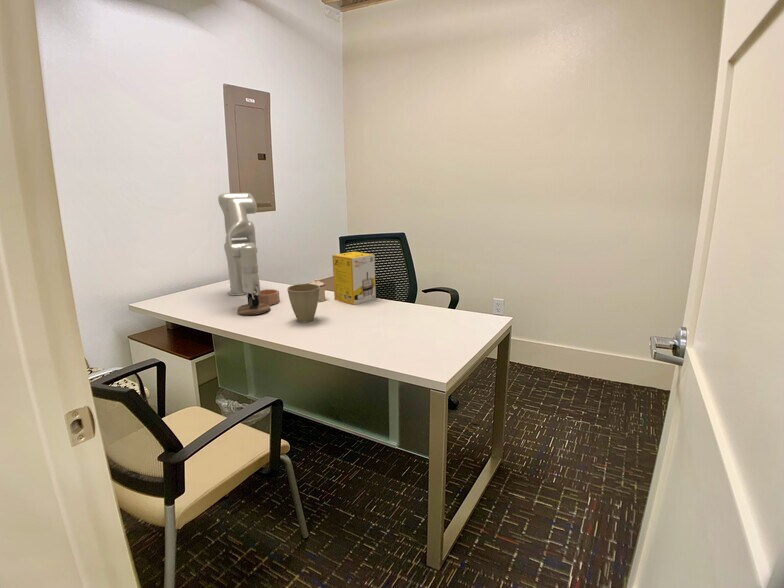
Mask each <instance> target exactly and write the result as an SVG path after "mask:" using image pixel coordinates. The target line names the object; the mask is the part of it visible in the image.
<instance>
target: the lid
mask: <svg viewBox="0 0 784 588" xmlns="http://www.w3.org/2000/svg"><path fill="white" fill-rule="evenodd" d="M252 299H253V297H251V298H249V305H248V303H246V304H243V305H240V306H238V307H237V309H236V310H237V313H238V314H239V315H246V316H247V315H249V316H250V315H259V314H264V313H266V312H267V313H268V311H270V310H271V305H269V304H265V303H259V306H256V307H253V304H252Z"/></svg>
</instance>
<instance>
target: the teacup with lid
mask: <svg viewBox="0 0 784 588" xmlns="http://www.w3.org/2000/svg"><path fill="white" fill-rule="evenodd" d="M308 284H315V285H318V286H320V290H319V298H318V303H319V302H323V301H325V300H326V289H325V285H326V284H325V282H322V281H320V280H319V279H318V278H316V279H314V280H313V281H312V282H310V283H308Z"/></svg>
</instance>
